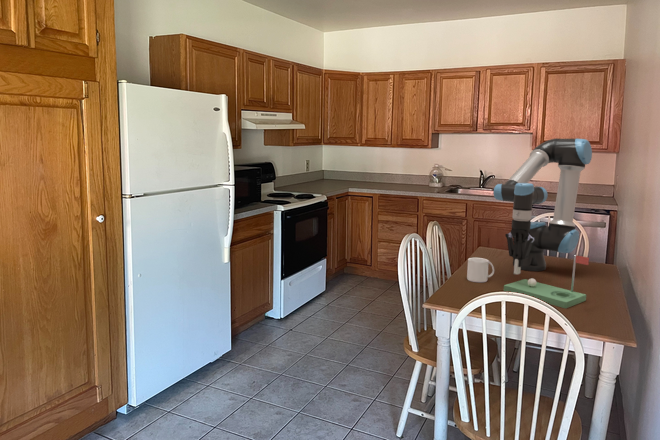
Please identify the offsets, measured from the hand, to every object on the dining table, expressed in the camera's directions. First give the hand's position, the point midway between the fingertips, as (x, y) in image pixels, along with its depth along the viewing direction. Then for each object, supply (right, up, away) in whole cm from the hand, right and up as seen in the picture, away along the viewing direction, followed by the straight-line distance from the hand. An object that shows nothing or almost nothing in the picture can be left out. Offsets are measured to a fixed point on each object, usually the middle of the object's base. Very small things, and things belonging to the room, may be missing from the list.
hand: (517, 273), depth 214 cm
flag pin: (+20, -9, -12) cm, 25 cm away
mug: (-12, -5, +14) cm, 18 cm away
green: (+8, -8, -8) cm, 14 cm away
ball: (+5, -3, -5) cm, 7 cm away
